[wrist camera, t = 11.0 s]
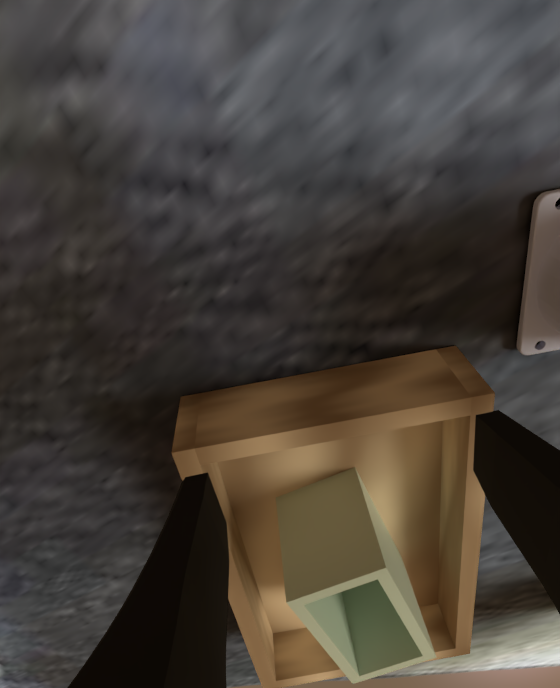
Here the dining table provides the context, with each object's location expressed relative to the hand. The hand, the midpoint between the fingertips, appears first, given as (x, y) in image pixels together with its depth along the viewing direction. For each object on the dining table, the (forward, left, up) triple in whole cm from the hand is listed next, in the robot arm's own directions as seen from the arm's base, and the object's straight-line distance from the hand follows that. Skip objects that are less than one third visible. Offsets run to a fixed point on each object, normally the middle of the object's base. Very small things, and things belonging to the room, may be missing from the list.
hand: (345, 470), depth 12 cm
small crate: (0, +15, -9) cm, 17 cm away
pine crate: (0, +15, -10) cm, 18 cm away
